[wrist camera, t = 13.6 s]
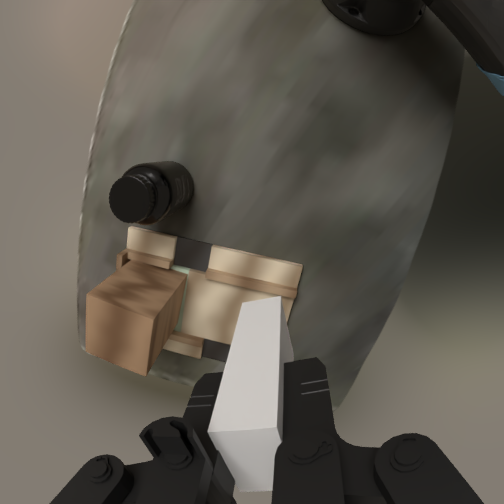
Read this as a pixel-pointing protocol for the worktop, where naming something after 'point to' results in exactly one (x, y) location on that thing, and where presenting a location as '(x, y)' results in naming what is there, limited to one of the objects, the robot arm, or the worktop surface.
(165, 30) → the worktop surface
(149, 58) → the worktop surface
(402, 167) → the worktop surface
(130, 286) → the walnut block
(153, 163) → the supplement bottle
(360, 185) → the worktop surface
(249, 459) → the robot arm
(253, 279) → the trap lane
